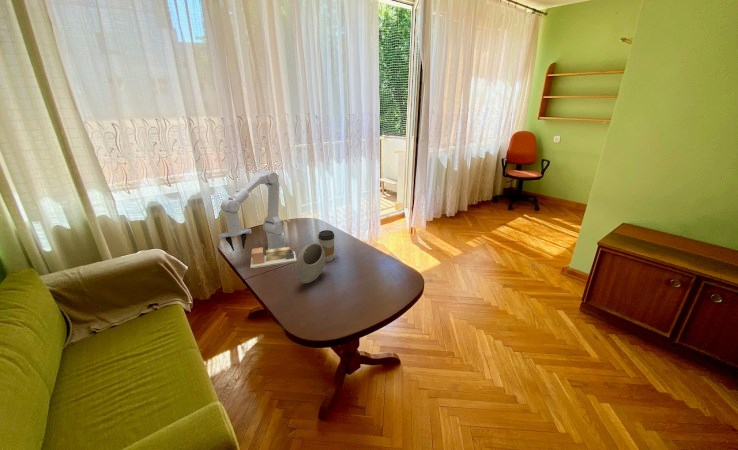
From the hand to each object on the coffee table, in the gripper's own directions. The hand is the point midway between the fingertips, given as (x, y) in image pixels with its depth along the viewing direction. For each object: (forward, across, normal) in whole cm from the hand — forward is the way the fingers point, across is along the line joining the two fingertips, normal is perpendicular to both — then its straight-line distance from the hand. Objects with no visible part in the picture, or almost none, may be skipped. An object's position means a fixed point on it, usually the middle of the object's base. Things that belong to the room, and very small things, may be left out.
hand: (238, 248), depth 147 cm
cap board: (+9, -15, +3) cm, 18 cm away
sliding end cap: (+8, -8, +2) cm, 12 cm away
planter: (+10, -27, +31) cm, 42 cm away
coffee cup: (+10, -41, +15) cm, 45 cm away
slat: (+8, -18, +4) cm, 20 cm away
